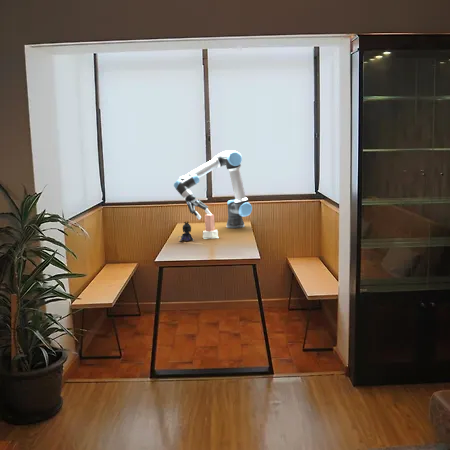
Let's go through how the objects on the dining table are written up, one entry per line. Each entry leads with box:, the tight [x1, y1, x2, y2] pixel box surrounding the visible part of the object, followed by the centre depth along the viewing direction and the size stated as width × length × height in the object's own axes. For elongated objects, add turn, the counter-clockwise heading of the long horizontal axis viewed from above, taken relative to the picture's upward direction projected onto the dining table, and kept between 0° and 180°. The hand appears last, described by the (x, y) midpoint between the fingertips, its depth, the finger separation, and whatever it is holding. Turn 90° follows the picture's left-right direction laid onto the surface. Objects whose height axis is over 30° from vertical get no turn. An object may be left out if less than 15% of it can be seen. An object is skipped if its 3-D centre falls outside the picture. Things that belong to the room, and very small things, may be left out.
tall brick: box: [204, 213, 216, 231], centre depth 402 cm, size 5×5×12 cm
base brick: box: [202, 229, 219, 239], centre depth 404 cm, size 8×8×5 cm
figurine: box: [177, 221, 194, 243], centre depth 396 cm, size 8×12×15 cm
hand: (205, 217), depth 403 cm, fingers open, 13 cm apart
